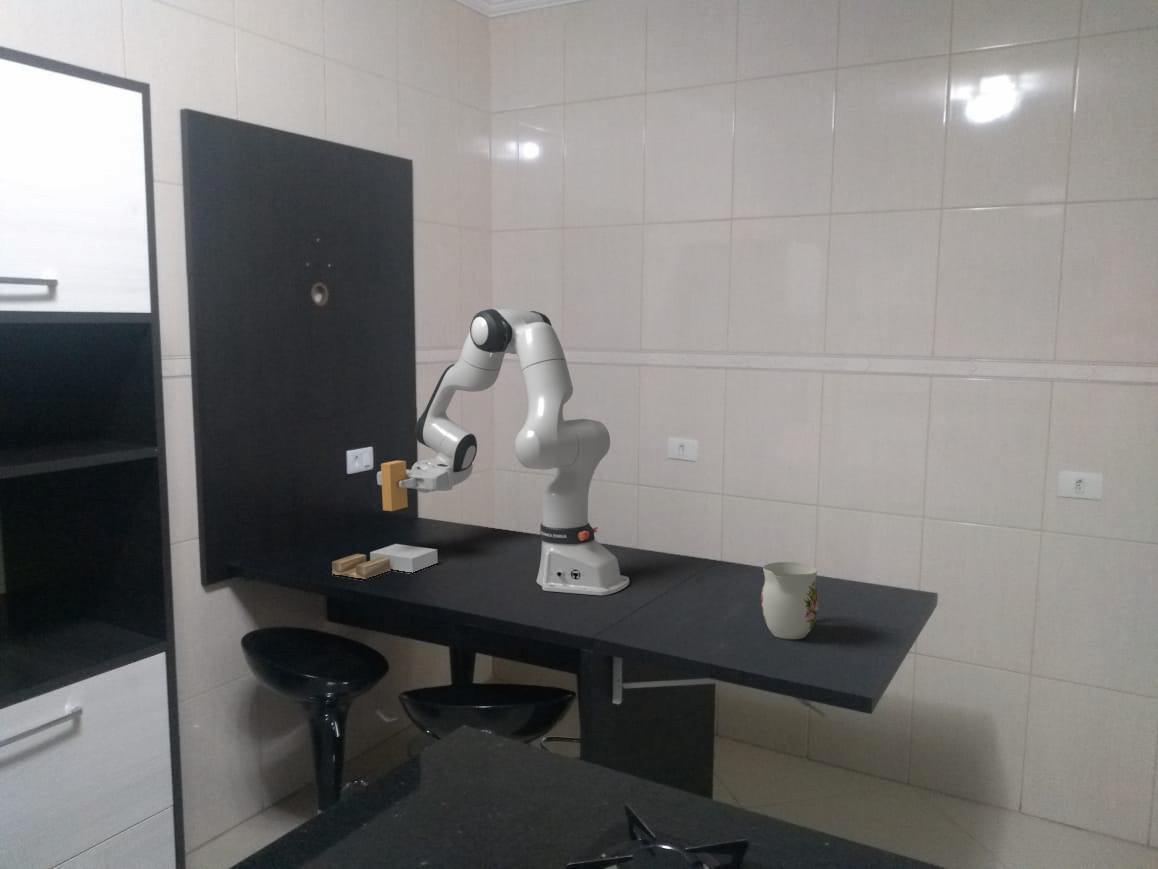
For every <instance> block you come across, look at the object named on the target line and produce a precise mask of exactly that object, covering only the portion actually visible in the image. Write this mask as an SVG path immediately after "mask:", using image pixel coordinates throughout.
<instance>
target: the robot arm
mask: <svg viewBox="0 0 1158 869" xmlns="http://www.w3.org/2000/svg"><path fill="white" fill-rule="evenodd" d="M469 328H470V329H469V331H468V334H467V335H466V339H465V341H464V343H463V346H462V349H461V351H460V355H459V358H458V360H457V361H456V363H454V364H450V365H449V366H447V367H446V369H444V371H443V373H442V374H441V376H440V378H439V380H438V381H437V384H436V386H435V388H434V390H433V393H432V394H431V397H430V398H429V401H428V403H427V405H426V407H425V409H424V411H423V412H422V414H421V415H420V417H419V418H418V420H417V421H416V424H415V428H414V429H415V430H414V432H415V437H416V441H417V442H418V443H420V444H422V445H423V446H425V447H428V448H429V449H431V450H433V451H434V452H435V453H437V456H436V457H431V458H426V459H422V460H418V461H415V463H414V464H413V465H412V466H411V469H407V468H406V479H407V480H399V481H397V482H396V484H397V488H405V487H407V489H415V490H416V491H418V492H419V493H422V494H425V493H426V494H428V493H433V492H436V491H442V492H443V491H444V492H445V491H447V492H448V491H451V490H453V487H454V486H457V485H458V484H461V483H463V482H465V481H467V479H468V478H469V477H470V476H471V474H472V472H473V468H474V467H473V465H474V464H473V462H474V460H475V458H476V456H477V453H478V442H477V441H478V440H477V438H476V435H474V434H473V433H472V432H470V431H469V430H468V429H465V428H464V427H463V426H461V425H459V424H458V423H456V422H455V421H453V420H451V419H450V418H449V417H448V415H447V409H448V407H449V405H450V403H451V401H452V399H453V397H454V395H455V393H456V392H457V391H462V392H464V391H465V392H471V393H472V392H475V393H476V392H482V391H485V390H488V389H489V388H491V387H492V386H493V385H494V384H496V381H498V380H497V379H498V378H499V375H500V372H501V369H502V365H503V361H504V358H505V355H506V354H510V355H517V357H518V360H519V365H520V369H521V370H520V371H521V373H522V379H523V383H524V388H525V393H526V398H527V404H528V405H527V416H526V419H525V422H524V424H523V426H522V428H521V429H520V430H519V432H518V433H517V435H516V437H515V440H514V452H515V455H516V458H517V461H519V463H520V464H521V465H522V467H524V468H526V469H533V470H541V471H542V470H543V471H545V470H552V469H556V472H555V474H554V476H553V478H552V480H551V481H550V482H549V483H548V484H547V485H546V486H545V487H544V488H543V490H542V493H541V523H540V526H539V527H540V528H539V529H540V531H539V532H540V533H539V534H540V544H541V554H540V555H541V556H540V561H539V569H538V574H537V578H536V583H537V584H538V585H540V586H541V587H542V588H541V589H542V591H544V592H555V593H556V592H557V593H567V594H580V595H592V596H607V595H611V594H614V593H618V592H619V591H621V590H623V589H625V588H626V587H628V586H629V585H630V579H629V576H625V575H621V570H620V566H619V562H618V559H617V556H615V555H614V554H613V553H612V552H610V551H609V550H608V549H607V548H606V547H604V545H602V544H601V543H600V542H598V541H597V539H596V536H595V533H597V532H598V526H597V527H592V525H591V524H590V522H589V517H588V516H589V492H590V488H591V482H592V479H593V476H594V473H595V472H596V470H597V467H598V465H599V464H600V462H601V461H602V460H603V458H605V456H607V454H608V453H609V450H610V448H611V447H610V446H611V436H610V432H609V430H608V428H607V427H606V425H605V424H604V423H603V422H601V421H599V420H594V419H593V420H592V419H589V418H588V419H587V418H579V419H567V420H564V419H565V418H564V414H563V413H564V412H563V411H564V405H565V404H566V403H568V401H569V400H570V399H571V397H572V396H573V393H574V387H573V383H572V380H571V375H570V371H569V368H568V363H567V360H566V355H565V353H564V349H563V347H562V344H561V342H560V338H559V337H558V335H557V333H556V331H555V329H554V327H553V326H552V323H551V320H550V318H549V317H548V316H547V315H546V314H544V313H542V312H540V311H535V310H530V311H529V310H522V309H515V308H499V309H494V308H488V309H485V310H481V311H478V312H477V313H476V314H475V315H474V316H473V318H472V319H471V323H470V326H469ZM376 481H377V482H376V483H377V485H378V486H382V477H381V470H379V471H377V473H376Z"/></svg>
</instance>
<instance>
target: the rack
mask: <svg viewBox="0 0 1158 869" xmlns="http://www.w3.org/2000/svg"><path fill="white" fill-rule="evenodd" d="M331 570H332V571H331V572H332V575H333V574H335V575H343V576H348V577H354V578H362V579H367V578H369V577H372V576H376V575H378V574H381V573H384V572H387V571H390V572H391V570H390V558H383V557H379V558H377V559H374V560H371V561H370V560H368V561H367V555H366V554H362V553H356V554H351V555H348V556H345V557H342V558H340V559H337V560H333V561H332V562H331Z"/></svg>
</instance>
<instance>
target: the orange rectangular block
mask: <svg viewBox="0 0 1158 869" xmlns="http://www.w3.org/2000/svg"><path fill="white" fill-rule="evenodd" d="M406 469H407V461H406V460H392V461H387V462H383V463H380V471H381V477H382V485H381V496H382V511H387V512H388V511H389V512H395V511H397V510H401V509H404V508H408V505H409V504H408V488H407V487H405V488H397V484H396V482H397V481H399V480H407V479H406Z"/></svg>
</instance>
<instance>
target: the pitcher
mask: <svg viewBox="0 0 1158 869" xmlns="http://www.w3.org/2000/svg"><path fill="white" fill-rule="evenodd" d="M762 569H763V575H764V583H763V586H762V588H761V595H760V596H761V597H760V600H761V601H760V602H761V609H762V610H761V611H762V615H763V618H764V621H765V624H766V625H767V627H768V630H769V631H770V632H771V634H772V635H773V636H775V637H777V638H779V639H784V640H801V639H804V638H805V637H807V635H808V634H809V633H810V632H811V631H812V628H813V627H814V624H815V622H816V620H817V616H818V612H819V592H818V589H817V585H816V580H817V579H816V578H817V574H818V569H817V568H816V567H815V566H814V565H813V566H812V565H810V564H807V563H803V562H802V563H800V562H795V561H794V562H792V561H779V562H771V563H768V564H765V565H764V566H763V567H762Z"/></svg>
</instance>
